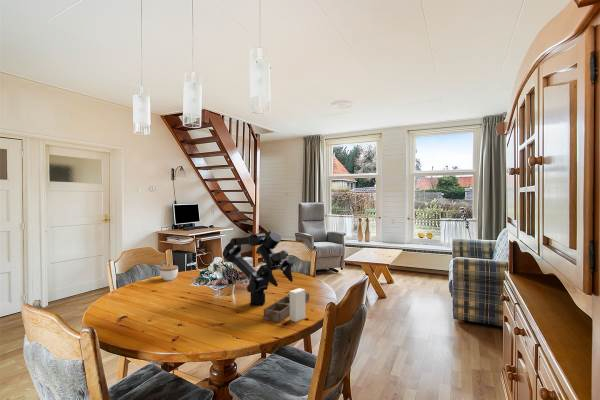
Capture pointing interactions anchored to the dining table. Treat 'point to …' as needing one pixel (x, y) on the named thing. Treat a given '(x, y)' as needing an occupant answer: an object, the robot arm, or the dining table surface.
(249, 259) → the light bulb box
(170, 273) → the white round bowl
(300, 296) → the white rectangular block
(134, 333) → the dining table surface
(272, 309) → the tray
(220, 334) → the dining table surface
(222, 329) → the dining table surface
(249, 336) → the dining table surface
